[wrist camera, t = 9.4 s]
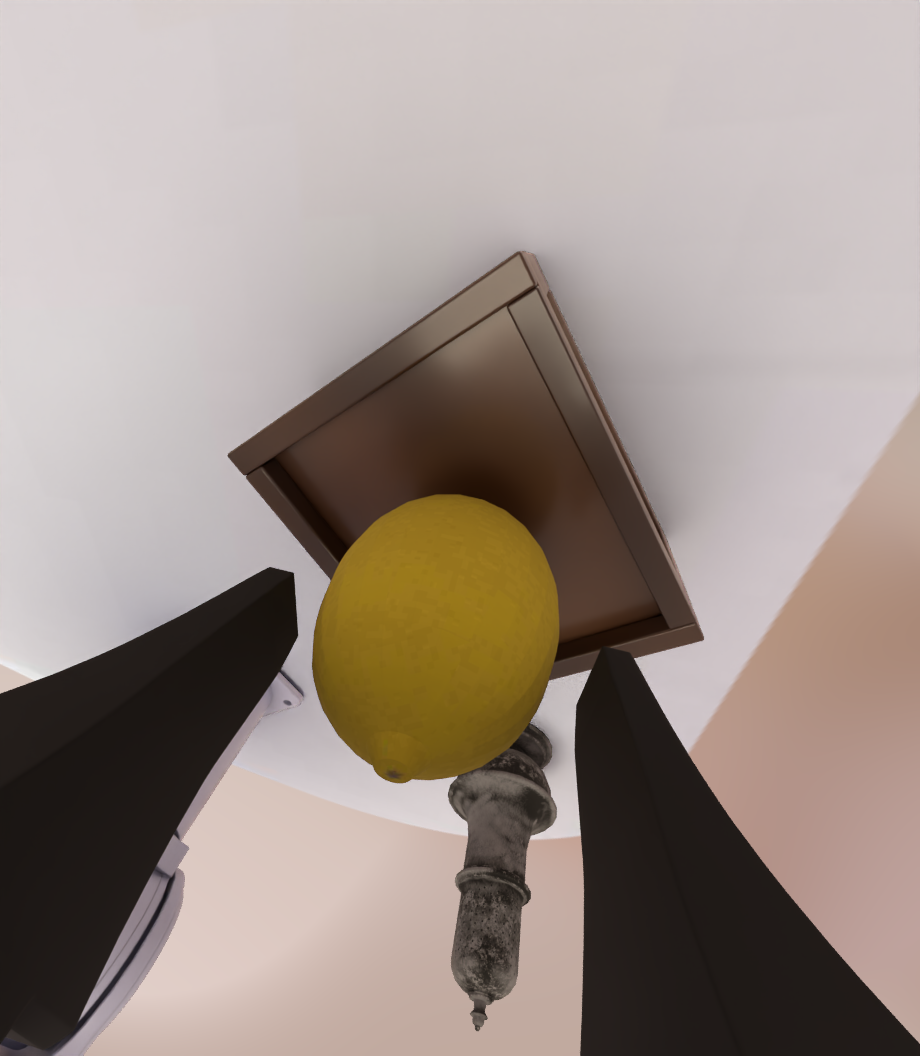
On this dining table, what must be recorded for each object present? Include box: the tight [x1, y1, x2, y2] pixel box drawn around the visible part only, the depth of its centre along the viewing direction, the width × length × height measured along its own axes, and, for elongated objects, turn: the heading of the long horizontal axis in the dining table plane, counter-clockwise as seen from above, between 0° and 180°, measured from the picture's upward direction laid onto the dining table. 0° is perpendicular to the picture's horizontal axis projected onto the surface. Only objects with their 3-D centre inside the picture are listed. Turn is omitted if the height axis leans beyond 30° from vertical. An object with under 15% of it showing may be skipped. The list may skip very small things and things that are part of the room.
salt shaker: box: [448, 724, 557, 1031], centre depth 22 cm, size 6×6×12 cm
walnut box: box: [228, 251, 704, 680], centre depth 16 cm, size 10×12×6 cm
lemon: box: [312, 494, 559, 783], centre depth 11 cm, size 6×6×8 cm
